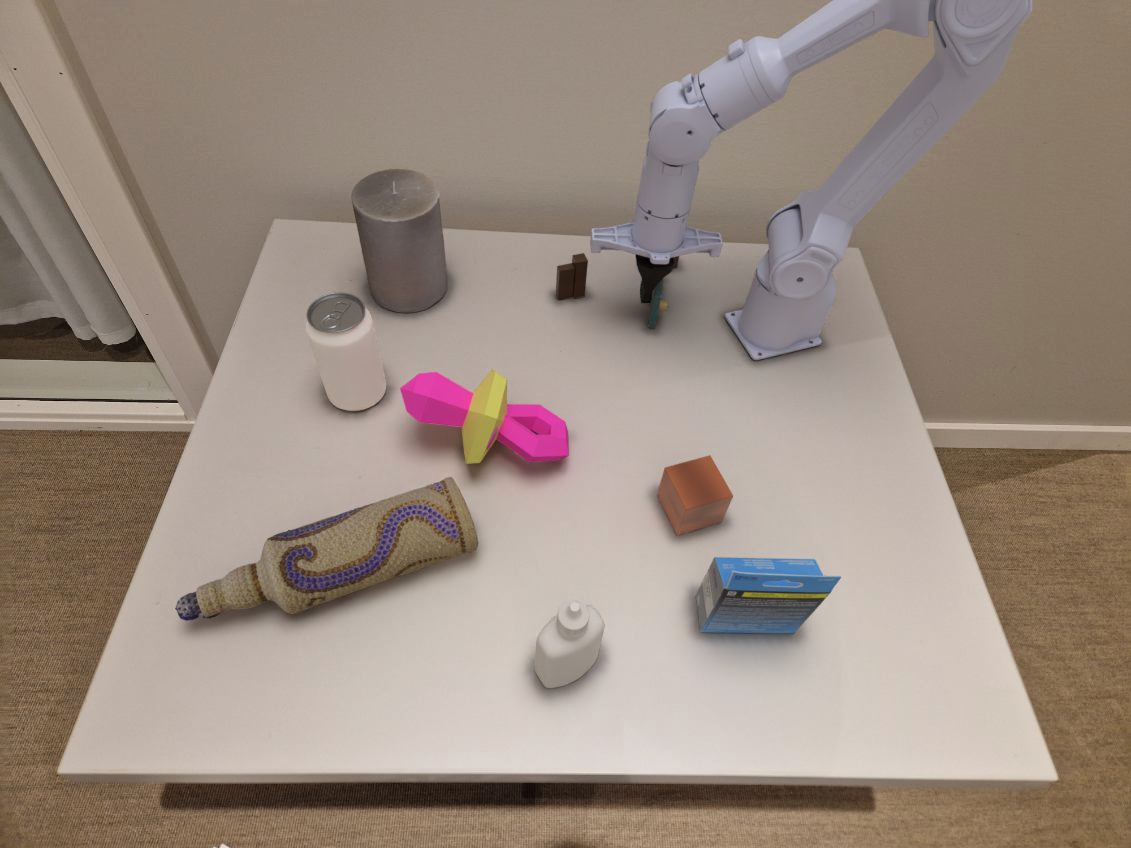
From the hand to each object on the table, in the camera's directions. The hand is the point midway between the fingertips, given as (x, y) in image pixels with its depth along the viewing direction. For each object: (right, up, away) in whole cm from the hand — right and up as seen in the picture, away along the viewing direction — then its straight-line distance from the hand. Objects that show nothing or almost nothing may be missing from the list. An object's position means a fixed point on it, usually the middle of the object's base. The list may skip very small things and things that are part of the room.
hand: (645, 297), depth 88 cm
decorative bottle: (-30, -28, -20) cm, 46 cm away
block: (+3, -24, -14) cm, 28 cm away
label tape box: (+7, -33, -21) cm, 40 cm away
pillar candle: (-29, +2, +4) cm, 29 cm away
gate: (-3, +3, +6) cm, 7 cm away
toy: (-18, -17, -10) cm, 27 cm away
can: (-33, -12, -7) cm, 35 cm away
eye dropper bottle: (-10, -36, -24) cm, 45 cm away
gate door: (+2, 0, +4) cm, 4 cm away
